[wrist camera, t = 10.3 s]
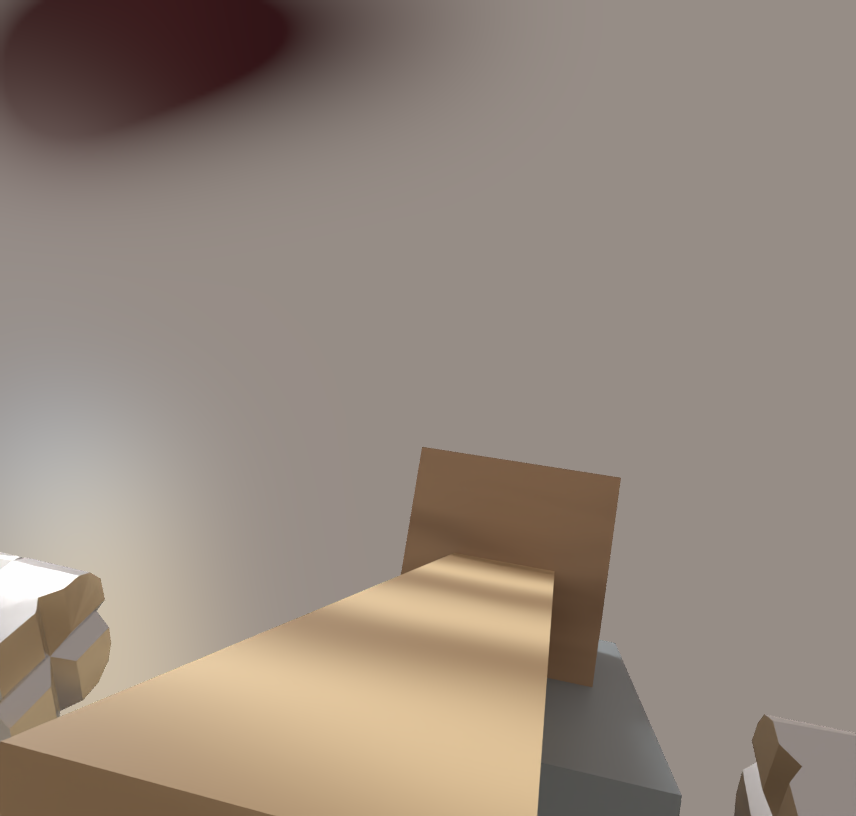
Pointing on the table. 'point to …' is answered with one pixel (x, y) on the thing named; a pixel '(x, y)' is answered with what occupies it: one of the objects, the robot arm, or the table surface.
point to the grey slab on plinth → (602, 749)
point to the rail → (365, 676)
